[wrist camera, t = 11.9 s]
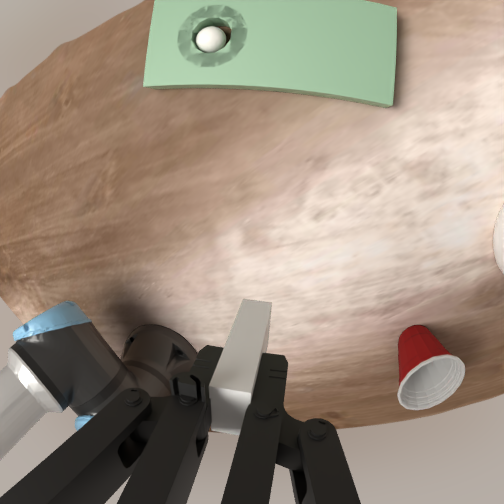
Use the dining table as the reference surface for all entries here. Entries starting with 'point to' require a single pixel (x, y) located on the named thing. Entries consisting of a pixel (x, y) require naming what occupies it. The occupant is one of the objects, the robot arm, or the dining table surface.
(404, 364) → the plastic cup
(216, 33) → the ball
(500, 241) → the teapot
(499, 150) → the dining table surface
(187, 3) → the putting board
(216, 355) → the robot arm
